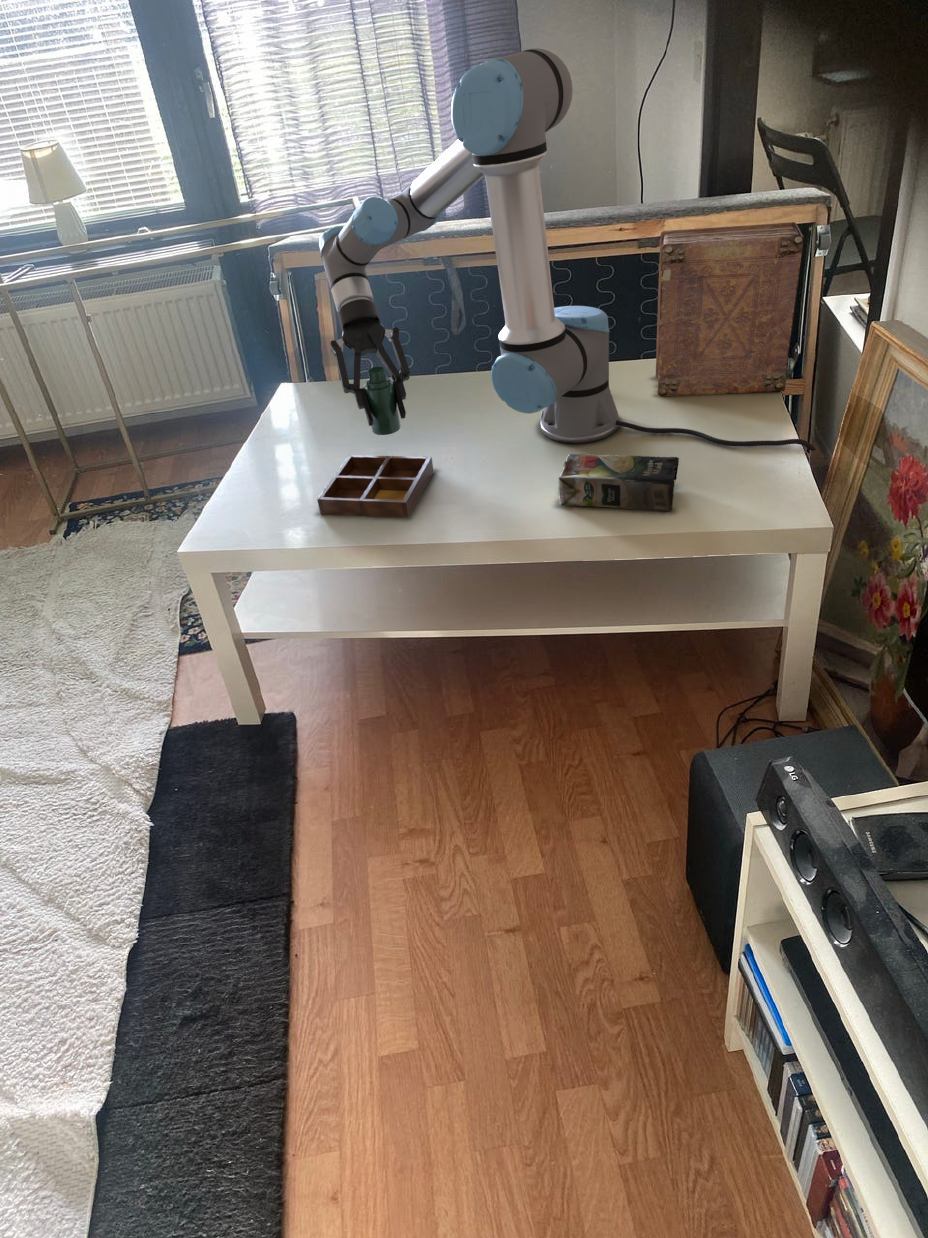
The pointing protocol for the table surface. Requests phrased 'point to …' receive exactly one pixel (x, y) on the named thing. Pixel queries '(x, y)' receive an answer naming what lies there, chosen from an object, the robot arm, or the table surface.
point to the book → (726, 308)
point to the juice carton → (618, 481)
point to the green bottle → (382, 402)
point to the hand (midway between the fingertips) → (387, 418)
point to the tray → (376, 486)
